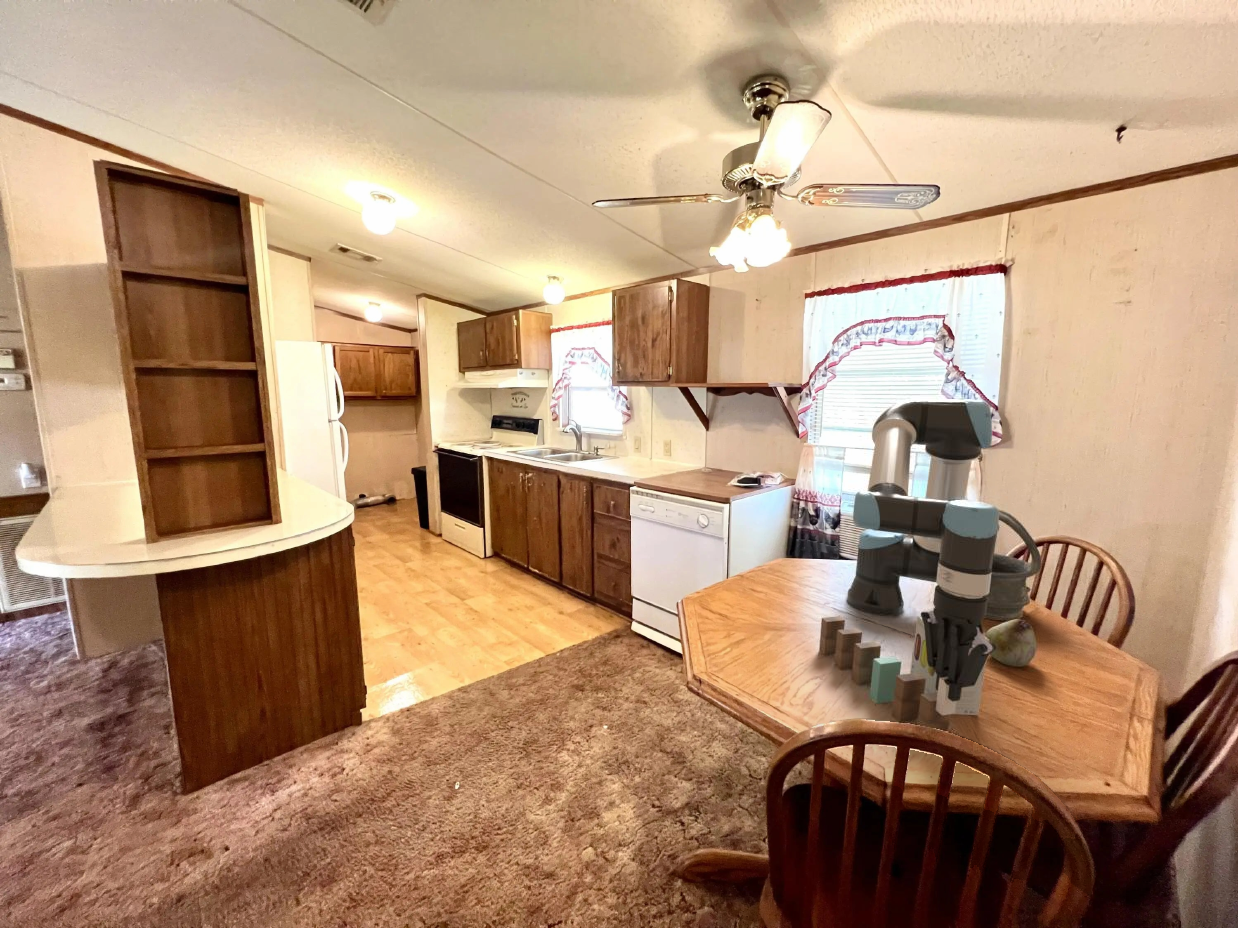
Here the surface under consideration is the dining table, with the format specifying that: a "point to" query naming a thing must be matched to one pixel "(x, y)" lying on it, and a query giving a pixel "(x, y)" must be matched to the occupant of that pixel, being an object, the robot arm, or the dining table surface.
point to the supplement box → (919, 664)
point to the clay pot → (1011, 577)
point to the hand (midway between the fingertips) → (945, 711)
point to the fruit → (1013, 642)
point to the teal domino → (884, 678)
